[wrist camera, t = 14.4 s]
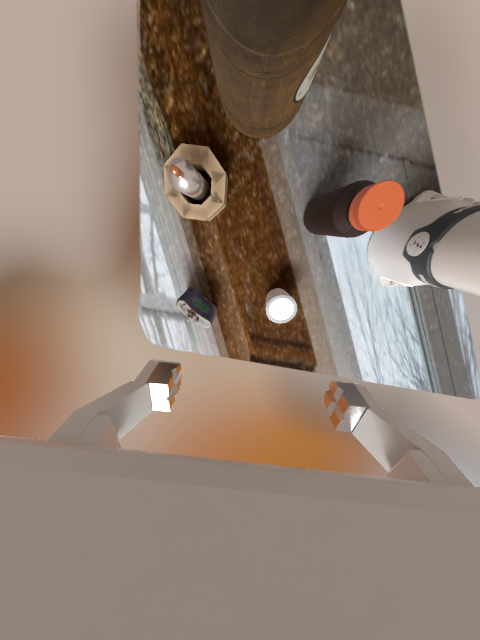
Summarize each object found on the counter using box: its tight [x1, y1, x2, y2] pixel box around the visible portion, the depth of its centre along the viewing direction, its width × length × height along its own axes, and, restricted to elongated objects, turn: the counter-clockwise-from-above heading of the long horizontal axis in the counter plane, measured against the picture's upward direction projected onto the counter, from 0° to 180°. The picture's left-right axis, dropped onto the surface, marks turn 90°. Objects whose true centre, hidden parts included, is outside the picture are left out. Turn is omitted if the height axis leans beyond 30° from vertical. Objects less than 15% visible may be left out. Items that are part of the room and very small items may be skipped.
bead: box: [164, 143, 228, 221], centre depth 35 cm, size 11×11×4 cm
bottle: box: [304, 180, 405, 238], centre depth 29 cm, size 7×7×20 cm
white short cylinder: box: [266, 288, 297, 323], centre depth 44 cm, size 7×7×7 cm
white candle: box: [167, 157, 210, 201], centre depth 30 cm, size 4×4×15 cm
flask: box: [176, 288, 217, 328], centre depth 43 cm, size 9×3×11 cm, turn 47°
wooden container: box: [201, 0, 347, 138], centre depth 20 cm, size 15×15×22 cm
